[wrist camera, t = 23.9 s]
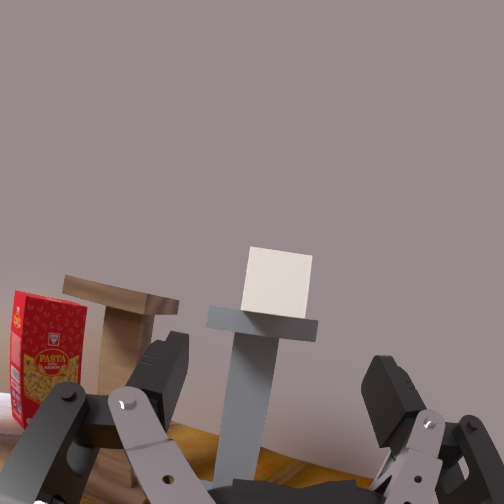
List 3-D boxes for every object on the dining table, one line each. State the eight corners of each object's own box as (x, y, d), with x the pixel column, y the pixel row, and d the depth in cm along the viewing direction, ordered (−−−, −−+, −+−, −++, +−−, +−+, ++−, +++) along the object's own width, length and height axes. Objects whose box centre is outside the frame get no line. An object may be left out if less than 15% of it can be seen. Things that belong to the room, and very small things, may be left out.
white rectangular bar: (306, 318, 17) (313, 256, 18) (239, 309, 17) (248, 246, 18) (274, 315, 37) (278, 285, 38) (242, 311, 37) (246, 280, 38)
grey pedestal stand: (265, 548, 19) (318, 320, 25) (182, 538, 19) (209, 305, 25) (260, 493, 33) (292, 318, 39) (197, 485, 33) (221, 307, 39)
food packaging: (24, 429, 30) (26, 295, 35) (12, 415, 31) (15, 290, 37) (79, 420, 43) (87, 306, 48) (66, 409, 45) (73, 301, 50)
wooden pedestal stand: (134, 525, 19) (147, 293, 25) (65, 496, 19) (65, 274, 25) (160, 477, 33) (179, 300, 39) (104, 458, 33) (116, 287, 39)
